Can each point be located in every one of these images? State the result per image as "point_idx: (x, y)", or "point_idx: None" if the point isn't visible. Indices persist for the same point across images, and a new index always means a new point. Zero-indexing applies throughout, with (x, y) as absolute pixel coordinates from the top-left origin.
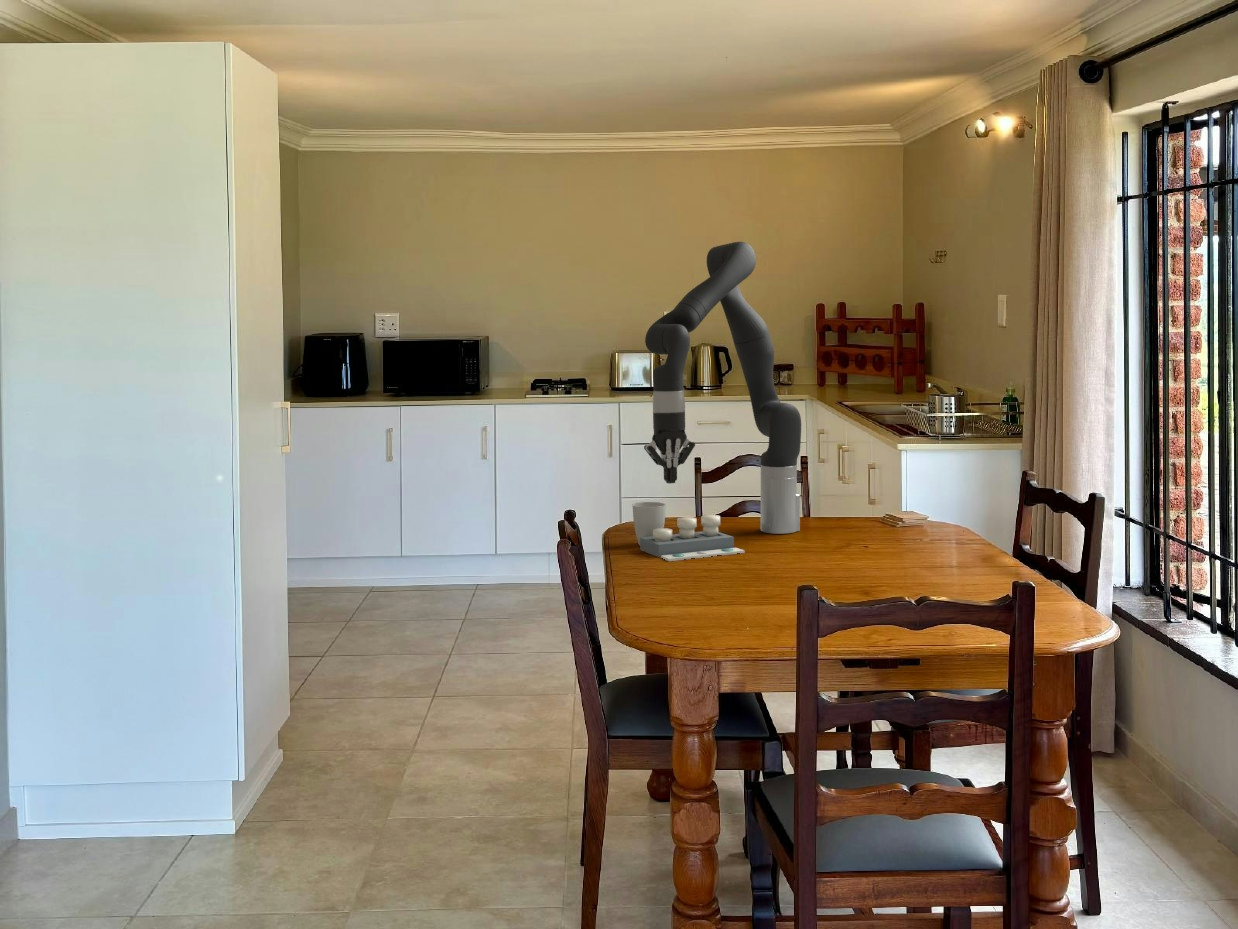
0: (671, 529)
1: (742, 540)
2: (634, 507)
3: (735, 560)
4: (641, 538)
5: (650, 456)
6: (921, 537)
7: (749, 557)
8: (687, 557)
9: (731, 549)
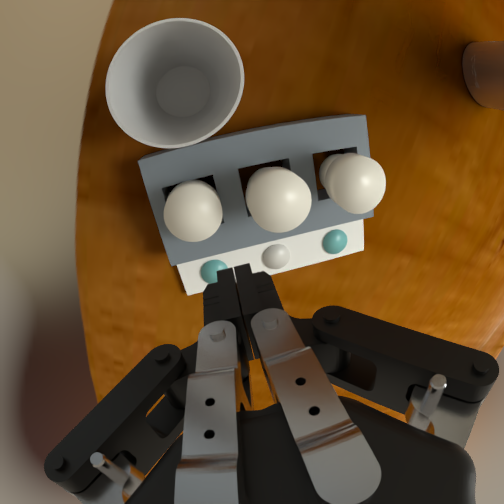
0: (220, 213)
1: (410, 120)
2: (109, 104)
3: (316, 303)
4: (140, 168)
5: (101, 406)
6: None
7: (350, 284)
8: None
9: (343, 243)
